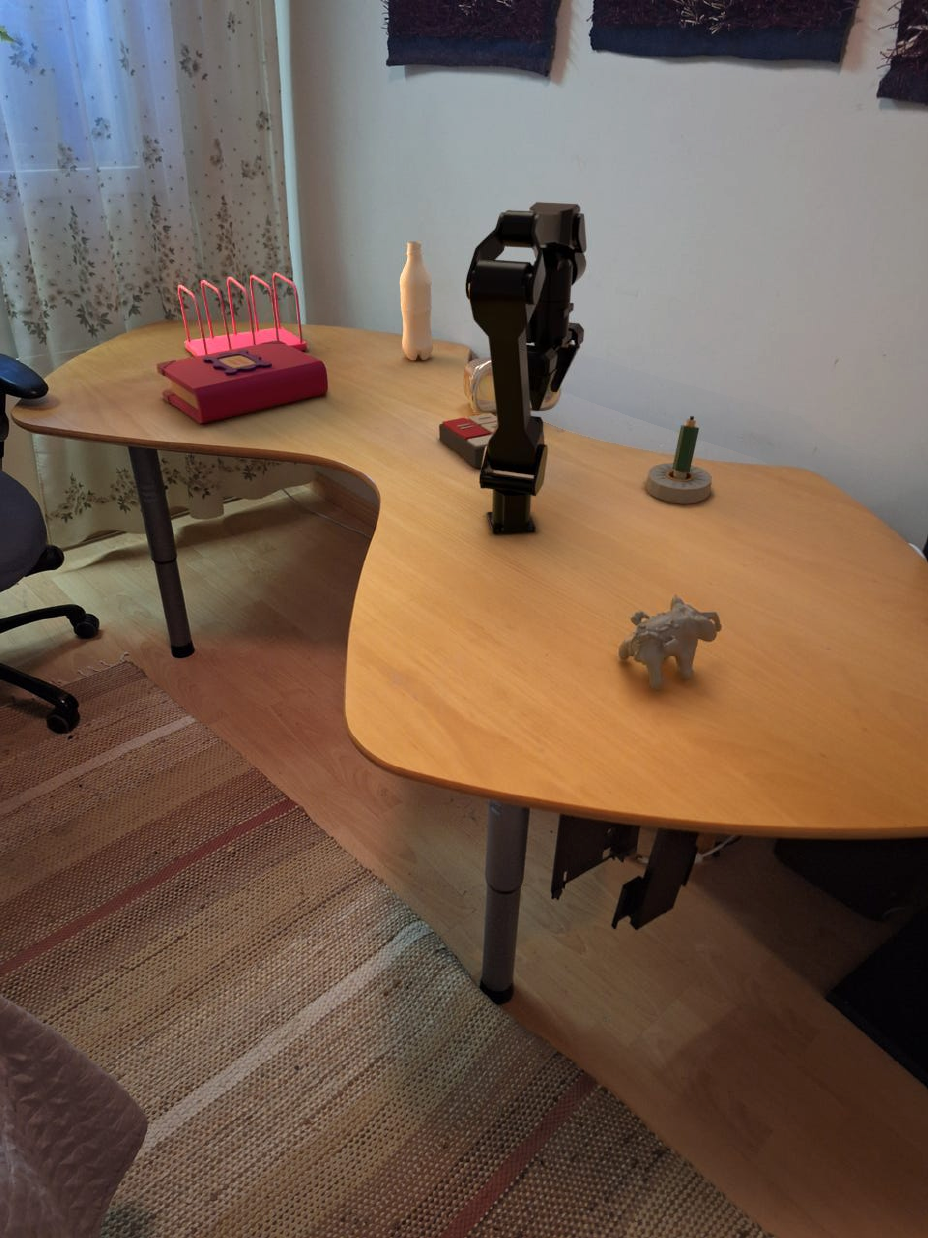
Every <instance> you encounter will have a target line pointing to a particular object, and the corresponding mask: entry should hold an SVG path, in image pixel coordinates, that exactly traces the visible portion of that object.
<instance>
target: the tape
mask: <svg viewBox="0 0 928 1238" xmlns="http://www.w3.org/2000/svg"><path fill="white" fill-rule="evenodd" d="M672 467H673V462H666V463H661V464H657V465H654V466H652V467H651V468H650V469H648V472H647V479H646V485H645V490H646V491H647V492H648V493H649V494H650V495H651V496H652V497H654V498H656V499H658V500H660V501H665V502H667V503H673V504H682V505H683V504H685V505H686V504H696V503H699V502H701V501H704V500H706V499H707V498H708V497H709V496H710V493H711V489H712V488H711V487H712V483H713V476H712V475H711V474H710V473H709V472H708V471H707V470H706V469H703V468H702V467H699V466H697V465H693V464H691V469H690V472H687V476H686V480H678V479H674V478H673V473H674V470H673V469H672Z"/></svg>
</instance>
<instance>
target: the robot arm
mask: <svg viewBox="0 0 928 1238" xmlns="http://www.w3.org/2000/svg"><path fill="white" fill-rule="evenodd" d="M495 224H496V225H495V227H494V229H493V230H492V231H490V233H489V234H488V235H487V236H486V237H485V238H484V239H482V240H481V242H480V243H479V244H478V245H477V246H476V247H475V248H474V251H473V254H472V257H471V260H470V264H469V267H468V270H467V273H466V278H465V295H466V298H467V300H469V305H470V311H471V314H472V315H471V316H472V319H473V321H474V322H475V323H476V324H477V326H479V328H480V329H481V330H482V332H483V333H484V334H485V335H486V336H487V337H488V345H489V354H490V355H489V356H490V357H491V366H492V375H493V385H494V394H495V404H496V412H495V413H496V417H497V424H496V426H495V429H494V431H493V433H492V436H491V438H490V439H489V442H488V445H487V446H486V447H485V451H484V456H483V461H482V466H481V468H480V474H479V478H478V483H479V487H480V489H483V490H485V489H486V490H487V489H488V490H492V501H491V505H492V507H491V511H487V512H486V517H487V521H488V524H489V527H490V530H491V533H492V535H506V534H522V533H523V534H524V533H535V532H536V531H537V527H536V524H535V522H534V520H533V517H532V515H531V509H532V497H537V495H538V494H539V492H540V491H541V489H542V487H543V486H544V483H545V475H546V469H547V462H548V461H547V460H548V454H549V453H548V452H549V447H548V444H545V433H544V432H545V431H544V420H543V418H542V417H541V416H536V415H532V413H531V412H532V411H530V402H531V406H532V410H534V411H533V412H540V411H539V410H540V408H541V406H542V404H543V401H544V399H545V396H546V394H547V391H548V389H549V386H550V389H551V392H558V390H559V388H560V386H561V387H562V384H563V382H564V380H565V378H566V375H567V374H568V372H569V370H570V368H571V366H572V364H573V362H574V360H575V357H576V356H577V354H578V351H580V348H581V344H582V343H583V342H584V337H585V328H583V326H582V325H581V324H580V323H579V322H570V314H571V313H572V312H573V311H574V308H575V303H574V302H571V298H572V286H574V284H576V283H577V282H578V281H579V280H580V279H581V278H582V277H583V275H584V274H585V272H586V268H587V259H586V255H585V253H586V252H587V247H588V246H587V235H586V219H585V214H584V213H582V212H581V206H580V205H579V204H578V203H564V202H563V203H561V202H560V203H559V202H541V201H539V202H537V201H536V202H535V203H533V204H532V205H531V206H530V207H529V210H515V209H513V210H511V209H507V210H506V211H501V212H500V213H499V215H498V218H497V221H496V223H495ZM506 247H507V248H523V249H532V251H533V254H534V258H535V260H534V262H533V264H532V263H531V262H530V261H520V260H505V259H503V260H502V259H498V257H500V255H502V254H503V253H504V251H505V249H506ZM573 342H574V343H573ZM495 471H499V472H506V473H513V475H512V474H504V473H498V472H495ZM514 474H520V475H526V476H519V475H514ZM527 476H533V477H527Z"/></svg>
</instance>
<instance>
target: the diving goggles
mask: <svg viewBox="0 0 928 1238" xmlns="http://www.w3.org/2000/svg"><path fill="white" fill-rule="evenodd" d="M463 391H464V395H465V397H466V399H467V400H468V401H469V404H470V408H471V411H472V412H473V413H474V414H475V415H481V414H486V413H491V414H494V413H496V404H495V394H494V385H493V375H492V366H491V356H490V357H480V358H475V359H472V360H470V361H469V362H468V363H467V364H466V365H465V368H464V371H463ZM561 395H562V385H561V386H560V388H559V390H558V392H551V389H550V386H549V389H548V391H547V394H546V396H545V399H544V401H543V404H542V406H541V408H540V410H539V411H538V412H547V411H549V410H552V409H553V408H555V407H556V406H557V404H558V403H559V401H560V398H561ZM530 412H535V411H534V410H532V406H531V402H530Z"/></svg>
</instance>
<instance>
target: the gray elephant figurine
mask: <svg viewBox="0 0 928 1238" xmlns="http://www.w3.org/2000/svg"><path fill="white" fill-rule="evenodd" d="M642 619H646V620H644V621H642ZM630 622H631V623H632V624H633V625H634V626H636V627H635V631H633V632H632V633H630V634H629V635H628V636H627V637H626V638H625V639H624V640H623V641H622V642H621V644H620V645H619V647H618V657H619V658H620V660H622V661H626V660H628V659H629V658H630V657H633V660H634V661H635V662H636V663H641V664H642V665H643V666H645V667H646V670H647V673H648V677H649V687H650V688H651V689H652V690H654V691H660V690H661V689H663V688H664V685H665V679H664V676H663V663H664V660H669V659H670V657H674V659H675V662H676V666H677V670H678V676H679V677H680V678H681V679H682V680H690V679H692V678H693V676H694V668H693V664H694V660H695V655H696V650H697V647H698V643H699V640H700V641H703V642H706V643H711V642H713V641H715V640H716V639H717V636H718V633H720V632H721V631H722V629H723V628H722V627H723V626H722V623H721V619H720V617H719V614H718V613H717V612H716V611H707V612H705V611H703V612H702V611H699V610H698V609H696V608H695V607H693V606H692V605H691V604H687V603H686V604H685V602H684V600H683V599H682V598H680V597H679V596H678V595H677V594H676V593H675V594H674V595H673V596H672V598H671V601H670V611H667V612H661V613H656V614H655V615H654V616H649V614H647V613H645V612H644V611H642V610H640V611H635V612H634V613H633V614H632V615H631V616H630Z"/></svg>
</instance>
